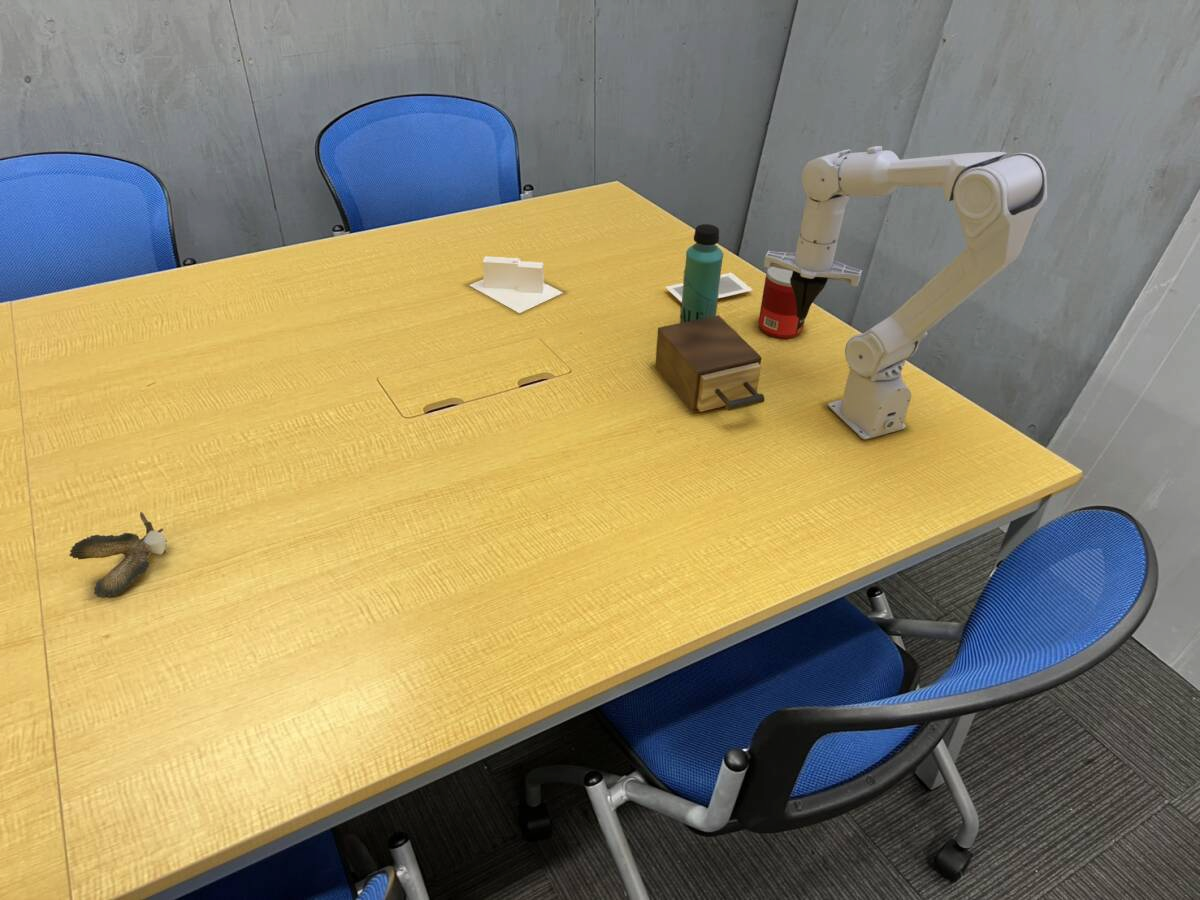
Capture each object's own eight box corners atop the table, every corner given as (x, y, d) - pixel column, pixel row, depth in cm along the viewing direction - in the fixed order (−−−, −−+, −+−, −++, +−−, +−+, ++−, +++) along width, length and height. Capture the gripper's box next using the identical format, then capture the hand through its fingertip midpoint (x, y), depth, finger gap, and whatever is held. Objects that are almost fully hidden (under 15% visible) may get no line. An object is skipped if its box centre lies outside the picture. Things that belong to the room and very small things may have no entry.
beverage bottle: (714, 324, 146) (727, 220, 133) (714, 344, 141) (728, 237, 128) (678, 322, 146) (687, 217, 134) (677, 341, 141) (687, 235, 129)
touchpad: (752, 295, 155) (754, 285, 153) (684, 310, 150) (685, 300, 148) (730, 277, 160) (732, 267, 159) (664, 292, 155) (665, 281, 154)
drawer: (772, 415, 124) (778, 383, 120) (715, 430, 121) (720, 397, 117) (716, 356, 136) (720, 325, 132) (663, 368, 133) (666, 337, 129)
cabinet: (754, 397, 129) (761, 357, 124) (692, 413, 125) (697, 372, 120) (713, 354, 139) (718, 314, 134) (655, 367, 135) (657, 327, 130)
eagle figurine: (136, 526, 103) (63, 560, 96) (146, 499, 98) (71, 533, 92) (172, 572, 103) (102, 609, 96) (185, 547, 98) (112, 584, 91)
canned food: (805, 340, 142) (817, 284, 135) (760, 339, 142) (770, 283, 135) (798, 317, 148) (809, 263, 141) (755, 316, 148) (763, 262, 141)
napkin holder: (468, 285, 156) (465, 258, 152) (512, 266, 162) (510, 240, 159) (520, 313, 148) (518, 285, 144) (564, 292, 154) (563, 265, 151)
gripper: (764, 236, 119) (751, 316, 128) (863, 256, 115) (842, 338, 124) (776, 218, 124) (763, 296, 133) (871, 237, 120) (851, 316, 129)
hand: (802, 315), depth 129 cm, fingers closed
